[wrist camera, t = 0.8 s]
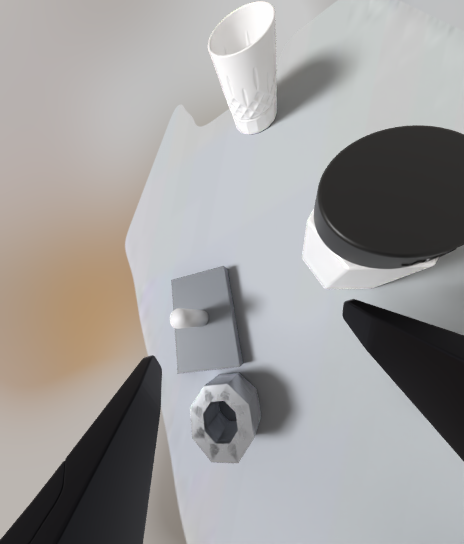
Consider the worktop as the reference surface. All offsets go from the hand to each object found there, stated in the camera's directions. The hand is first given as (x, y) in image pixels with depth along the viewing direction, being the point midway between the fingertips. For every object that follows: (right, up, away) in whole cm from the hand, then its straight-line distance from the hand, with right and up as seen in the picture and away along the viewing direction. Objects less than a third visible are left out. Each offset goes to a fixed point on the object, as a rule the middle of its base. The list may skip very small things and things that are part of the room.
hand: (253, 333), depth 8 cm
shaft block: (-4, -3, +16) cm, 17 cm away
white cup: (+3, +28, +22) cm, 35 cm away
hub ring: (-1, -12, +13) cm, 18 cm away
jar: (+12, +5, +13) cm, 18 cm away
